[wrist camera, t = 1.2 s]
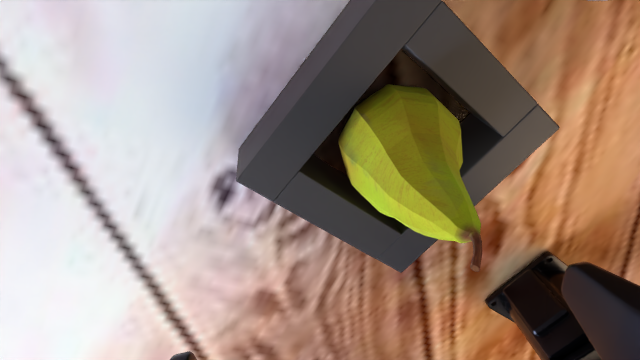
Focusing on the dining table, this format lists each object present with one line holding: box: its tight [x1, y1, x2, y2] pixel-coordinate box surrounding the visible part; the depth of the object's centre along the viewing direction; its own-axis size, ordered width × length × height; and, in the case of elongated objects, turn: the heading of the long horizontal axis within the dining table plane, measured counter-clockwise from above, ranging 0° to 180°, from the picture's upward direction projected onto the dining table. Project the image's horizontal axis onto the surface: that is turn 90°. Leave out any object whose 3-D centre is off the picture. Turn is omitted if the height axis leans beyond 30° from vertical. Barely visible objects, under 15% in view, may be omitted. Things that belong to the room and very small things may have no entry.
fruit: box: [338, 84, 482, 272], centre depth 17 cm, size 6×6×12 cm
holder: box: [236, 0, 559, 272], centre depth 20 cm, size 12×12×4 cm
